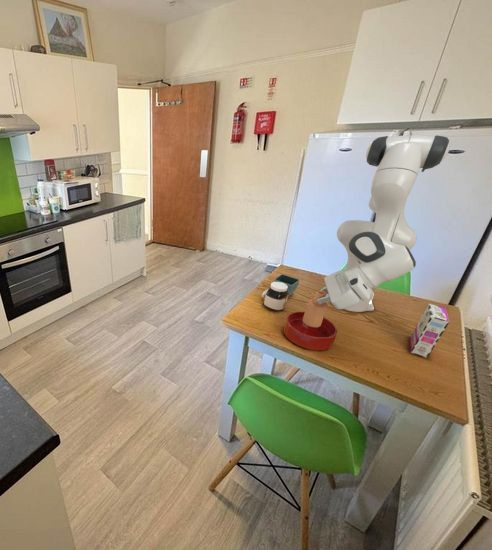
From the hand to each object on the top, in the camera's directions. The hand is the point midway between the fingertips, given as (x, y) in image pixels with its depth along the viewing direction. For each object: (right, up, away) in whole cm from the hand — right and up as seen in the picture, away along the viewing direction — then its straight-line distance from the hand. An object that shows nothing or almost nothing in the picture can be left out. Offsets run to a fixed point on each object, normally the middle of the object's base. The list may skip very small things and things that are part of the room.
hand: (317, 299), depth 110 cm
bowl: (+1, -16, +8) cm, 18 cm away
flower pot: (+6, -1, +36) cm, 37 cm away
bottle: (+1, -10, +5) cm, 11 cm away
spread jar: (-3, -5, +29) cm, 30 cm away
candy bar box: (+39, -19, +1) cm, 43 cm away
